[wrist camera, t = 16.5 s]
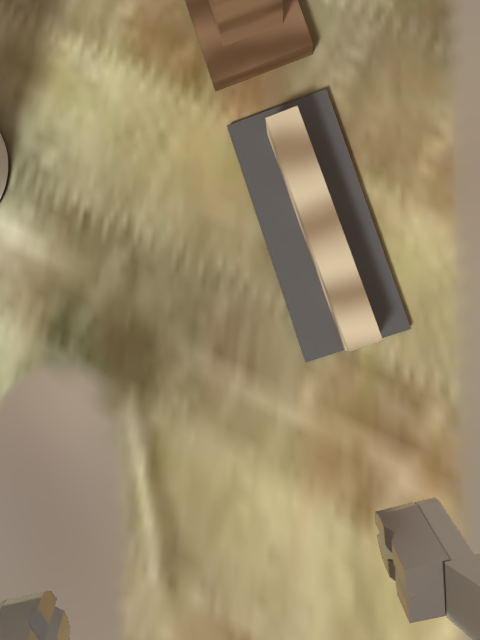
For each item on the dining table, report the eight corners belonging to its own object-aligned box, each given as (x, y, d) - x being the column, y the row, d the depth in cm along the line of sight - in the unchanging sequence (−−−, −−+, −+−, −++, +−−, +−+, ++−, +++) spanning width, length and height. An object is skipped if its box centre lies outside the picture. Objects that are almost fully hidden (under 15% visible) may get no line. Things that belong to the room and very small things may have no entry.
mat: (409, 328, 42) (410, 328, 41) (305, 361, 43) (305, 362, 42) (325, 91, 43) (326, 88, 43) (227, 128, 44) (226, 125, 44)
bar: (376, 340, 41) (383, 340, 38) (344, 350, 42) (349, 351, 39) (296, 121, 43) (297, 105, 40) (267, 133, 43) (265, 118, 40)
